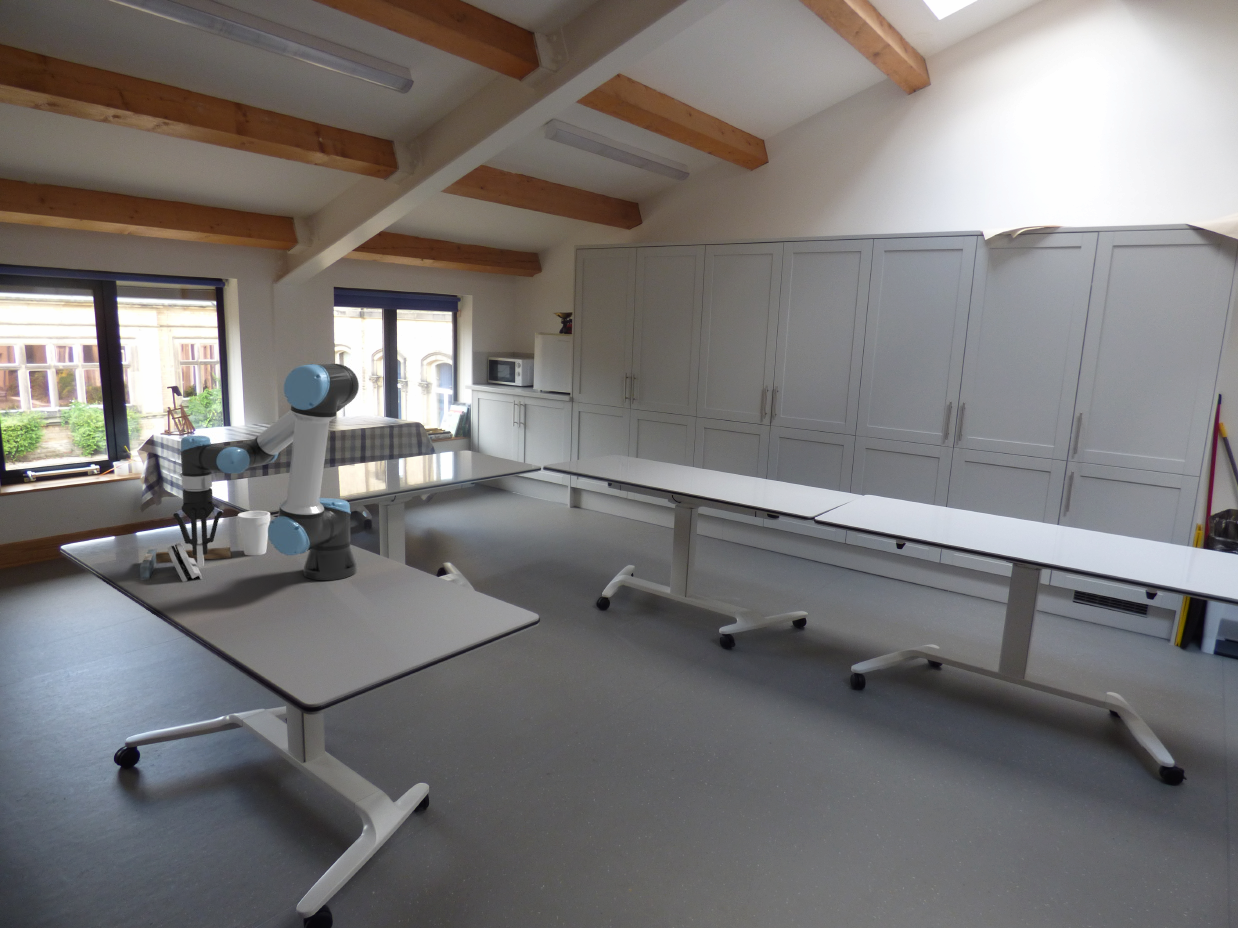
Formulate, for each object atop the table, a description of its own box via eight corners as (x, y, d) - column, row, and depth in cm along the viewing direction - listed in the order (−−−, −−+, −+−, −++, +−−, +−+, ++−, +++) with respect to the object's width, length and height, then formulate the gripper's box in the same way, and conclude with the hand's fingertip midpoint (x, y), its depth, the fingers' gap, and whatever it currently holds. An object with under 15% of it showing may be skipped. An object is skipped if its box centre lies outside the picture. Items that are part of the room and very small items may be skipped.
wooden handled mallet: (230, 556, 230) (230, 543, 229) (228, 572, 215) (227, 559, 214) (149, 562, 220) (148, 548, 219) (140, 579, 205) (139, 565, 204)
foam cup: (277, 549, 238) (275, 512, 236) (260, 558, 229) (259, 518, 227) (250, 547, 239) (248, 509, 237) (232, 555, 230) (231, 516, 228)
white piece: (202, 579, 208) (187, 549, 204) (185, 586, 206) (169, 557, 202) (196, 563, 221) (182, 535, 218) (179, 570, 219) (165, 541, 215)
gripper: (223, 485, 217) (226, 559, 221) (173, 486, 211) (176, 563, 215) (221, 490, 210) (224, 567, 214) (169, 492, 205) (173, 570, 209)
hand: (200, 565), depth 215 cm, fingers closed
